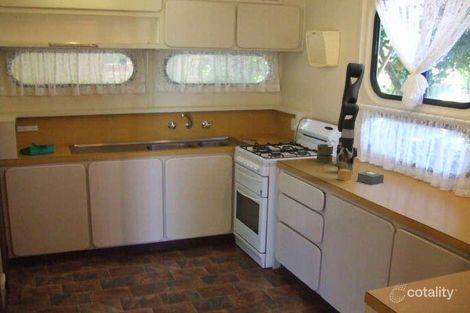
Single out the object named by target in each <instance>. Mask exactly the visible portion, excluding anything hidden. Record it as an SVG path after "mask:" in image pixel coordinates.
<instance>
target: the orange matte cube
mask: <svg viewBox="0 0 470 313" xmlns="http://www.w3.org/2000/svg"><path fill="white" fill-rule="evenodd" d="M337 175H338V176H337V180H339V179H340V180H339V181H343V180H344V182H346V181H347V182H348V181H351V180H352V175H351V170H347V169H341V170H338V169H337Z"/></svg>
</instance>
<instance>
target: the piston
mask: <svg viewBox="0 0 470 313" xmlns="http://www.w3.org/2000/svg"><path fill="white" fill-rule="evenodd" d="M316 148H317V149H316V153H317V154H316V162H317V163H321V164H332V163H333V154H334V145H332V146H329V144H327V143H326V144H325V143H320V144H317V147H316Z"/></svg>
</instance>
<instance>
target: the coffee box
mask: <svg viewBox="0 0 470 313" xmlns="http://www.w3.org/2000/svg"><path fill="white" fill-rule="evenodd" d="M341 149H342V148H341ZM352 151H353V150H352ZM350 153H351V152H350ZM350 158H351V157H350V155H349V154H348V153H343V157H342V161H341V162H340V161H339V159H338V166H337V171H338V170H341V169H347V170H351V176H352V175H353V174H354V165H355V164H354V163H355V162H354V163H353V164H350Z"/></svg>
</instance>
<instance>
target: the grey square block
mask: <svg viewBox="0 0 470 313" xmlns="http://www.w3.org/2000/svg"><path fill="white" fill-rule="evenodd" d="M367 172H373V173H376V174H375V175H369V174H366V173H367ZM384 177H385V176H384V173H379V172H376V171H372V170H366V171H363V172H362V171H361V172H357V180H356V181H357V182H359V183H364V184H368V185H371V186H372V185H377V184H378V185H379V184H382V183H384Z"/></svg>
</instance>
